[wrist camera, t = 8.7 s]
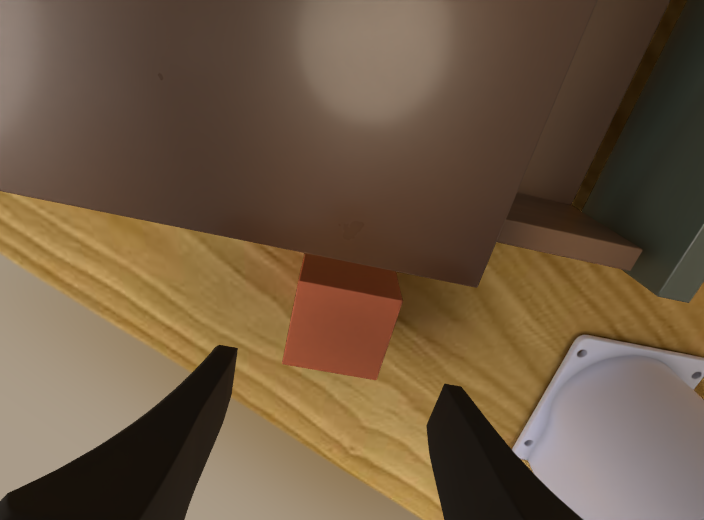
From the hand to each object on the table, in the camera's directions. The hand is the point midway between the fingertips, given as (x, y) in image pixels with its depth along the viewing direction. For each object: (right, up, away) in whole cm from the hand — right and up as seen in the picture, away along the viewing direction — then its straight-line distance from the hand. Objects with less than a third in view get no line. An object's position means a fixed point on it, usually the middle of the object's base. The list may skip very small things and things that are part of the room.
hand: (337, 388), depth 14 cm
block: (0, +3, +7) cm, 7 cm away
